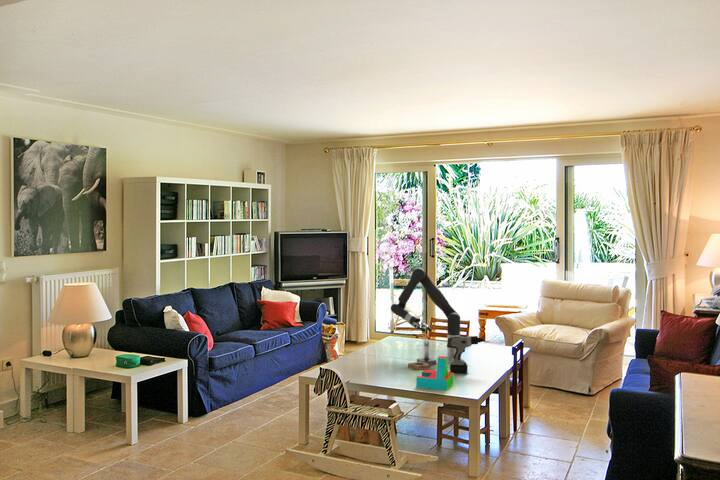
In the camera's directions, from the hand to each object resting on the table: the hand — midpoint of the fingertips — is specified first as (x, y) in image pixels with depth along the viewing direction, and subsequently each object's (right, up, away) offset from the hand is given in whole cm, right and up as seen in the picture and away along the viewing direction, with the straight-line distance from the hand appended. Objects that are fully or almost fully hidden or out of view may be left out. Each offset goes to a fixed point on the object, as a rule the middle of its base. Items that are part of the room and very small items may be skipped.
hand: (428, 331), depth 441 cm
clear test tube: (-2, -22, -5) cm, 23 cm away
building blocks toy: (-2, -25, -59) cm, 64 cm away
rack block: (-8, -23, -19) cm, 30 cm away
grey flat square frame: (-2, -22, -5) cm, 23 cm away
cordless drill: (+21, -23, -32) cm, 44 cm away
